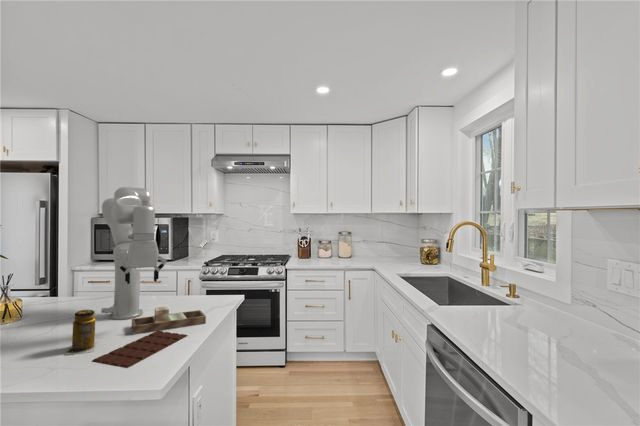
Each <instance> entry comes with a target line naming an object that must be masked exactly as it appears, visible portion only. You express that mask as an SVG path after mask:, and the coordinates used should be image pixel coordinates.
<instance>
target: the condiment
mask: <svg viewBox="0 0 640 426" xmlns="http://www.w3.org/2000/svg"><path fill="white" fill-rule="evenodd" d="M95 335H96V318H95V310H94V309H83V310H78V311H76V312H75V314H74V320H73V322H72V338H71V339H72V341H71V346H70V347H69V348H68V349H67V352H66V353H65V355H79V354H86V353H92V352H93V353H94V351H95V349H96V347H97V344H98V341H96V340H95V338H96V337H95Z"/></svg>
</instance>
